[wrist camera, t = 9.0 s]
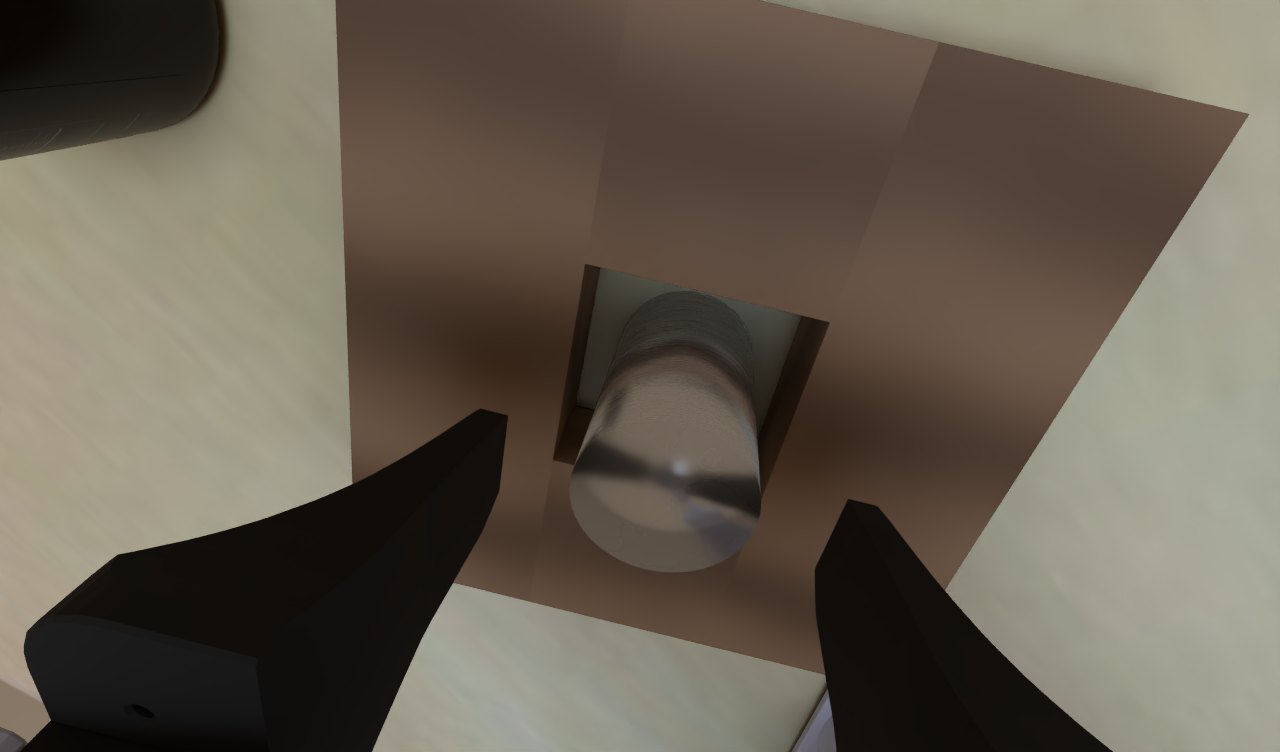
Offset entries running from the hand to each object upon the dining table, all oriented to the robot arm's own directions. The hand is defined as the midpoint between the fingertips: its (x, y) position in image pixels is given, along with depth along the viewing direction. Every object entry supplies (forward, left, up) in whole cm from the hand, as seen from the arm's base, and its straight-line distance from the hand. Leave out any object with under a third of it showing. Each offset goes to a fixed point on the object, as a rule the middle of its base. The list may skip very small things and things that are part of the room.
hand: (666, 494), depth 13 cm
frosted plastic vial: (0, 0, -7) cm, 7 cm away
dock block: (0, 0, -7) cm, 7 cm away
